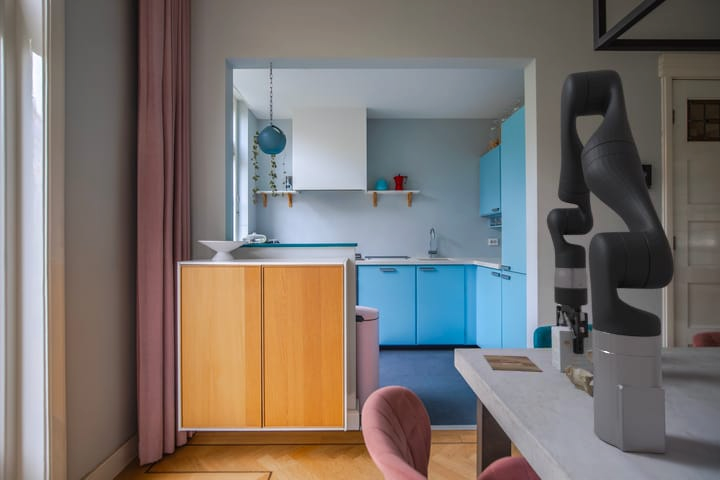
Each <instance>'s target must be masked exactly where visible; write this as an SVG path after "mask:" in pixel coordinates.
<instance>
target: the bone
mask: <svg viewBox="0 0 720 480" xmlns="http://www.w3.org/2000/svg"><path fill="white" fill-rule="evenodd" d="M586 357H587V360H588V361H589V362H590V363H591V364H593V350H589V351H588V352H587V353H586ZM564 373H565V375H566V377H567V378H568V380H569V381H570V383H571V384H573V385H574V386H573V388H574V389H577V390H580V391H584V392H585V393H587V395H589V396H591V395H592V394H593V384H591V383H592V382H593V373H589V372H588V371H586V370H584V369H581V368H579V369H575V368H574V367H573V366H572V365H570V366H568V367H567V368H566V369H565V372H564Z"/></svg>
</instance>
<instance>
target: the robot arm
mask: <svg viewBox="0 0 720 480" xmlns="http://www.w3.org/2000/svg"><path fill="white" fill-rule="evenodd" d="M589 116H591V117H592V116H602V117H603V120H602V122H601V123H600V125H599V126H598V127H597V128H596V130H595V131H594V132H593V133H592V135H591V136H590V137H589V138H588V140H587V142H586V143H585V145H583V142H582V141H581V139H580V136H579V134H578V129H577V119H578V117H589ZM628 118H629V117H628V113H627V106H626V100H625V91H624V85H623V81H622V77H621V76H620V74H619V73H618V71H616V70H612V69H601V70H598V69H597V70H589V71H581V72H580V71H579V72H573V73H572V72H571V73H570V74H568V75H567V76H566V77H565V79H564V82H563V85H562V88H561V94H560V156H561V157H560V172H559V179H558V180H559V181H558V189H557V197H558V199H559V201H561V202H563V203H566V204H570V205H576V206H577V207H560V208H559V207H557V208H556V207H555V208H553V209H551V210H550V211H549V213H548V214H547V217H546V225H547V229H548V231H549V234H550V237H551V240H552V244H553V249H554V250H553V251H554V268H555V269H554V276H553V277H554V278H553V280H554V281H553V284H554V285H553V287H554V288H553V289H554V291H553V292H554V297H553V298H554V299H553V300H554V303H555V304H557V305H556V306H555V307H556V308H555V310H556V311H555V314H556V317H555V319H556V322H555V324H556V326H561V327H568V328H569V330H571V332H572V336H573V353H575V354H583V353H584V339H585V338H588V330H589V313H588V312H583V311H582V312H581V306H582V307H583V306H587V305H588V303H589V299H588V298H589V296H588V293H589V292H588V288H589V287H588V274H587V258H586V257H587V253H586V252H587V251H586V248H585V247H584V246H583V245H580V244H576V243H570V242H568V241H567V240H566V239H565V236H583V235H584V236H585V235H587V234H590V232H591V231H592V229H593V228H594V217H593V212H592V205H591V193H592V194H593V195H594V196H595V197H596V198H597V199H599V200H600V202H602V203H604V204H605V205H606V206H607V207H608V208H610V209H611V210H612V211H613V212H614V213H615V214H617V215H618V216H619V217H620V218H621V219H622V221H623V222H624V224H625V225H626V227H627V229H628V230H629V231H606V232H605V231H604V232H598V233H595V234H594V235H593V236H592V238H591V240H590V241H589V246H588V268H589V269H588V270H589V278H590V294H591V295H590V297H591V300H590V301H591V316H592V318H591V319H592V320H591V321H592V323H591V325H592V330H591V331H592V336H593V373H592V374H593V380H592V382H593V383H592V385H593V396H592V397H593V428H594V429H593V430H594V434H595V436H596V437H598V438H599V439H600V440H602V441H603V442H606V443H607V444H610V445H612V446H615V447H617V448H619V449H620V450H621V451H623V452H636V453H637V452H638V453H639V452H640V453H657V454H667V437H666V436H667V435H666V431H667V430H666V398H665V397H666V394H665V393H666V392H665V389H664V388H663V373H662V369H663V368H662V365H663V364H662V361H663V360H662V322H661V319H660V317H659V316H658V315H657V314H655V313H653V312H651V311H647V310H644V309H640V308H638V307H635V306H633V305H631V304H628V303H627V302H625V301H624V300H622V299H621V298H620V296H619V294H618V293H619V292H618V289H626V290H627V289H633V290H634V289H635V290H657V289H663V288H666V287H667V286H669V284H670V283H671V282H672V280H673V276H674V272H675V264H674V263H675V262H674V257H673V256H674V255H673V252H672V248H671V244H670V242H669V240H668V237H667V235H666V234H667V233H666V232H665V231H666V230H664V226H663V225H662V222H661V220H660V217H659V215H658V212H657V210H656V209H655V206H654V203H653V200H652V198H651V194H650V193H649V189H648V186H647V182H646V178H645V173H644V169H643V164H642V161H641V157H640V154H639V149H638V146H637V144H636V142H635V139H634V136H633V134H632V128H631V125H630V122H629V119H628ZM558 304H560V305H558ZM583 329H584V330H583ZM575 330H576V332H575Z"/></svg>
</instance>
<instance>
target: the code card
mask: <svg viewBox="0 0 720 480" xmlns="http://www.w3.org/2000/svg"><path fill="white" fill-rule="evenodd" d="M482 356H483V358H484V359H485V360H486V362H487V363H488V365H489V366H490V367H491V369H492V370H493V371H513V372H514V371H515V372H538V373H539V372H541V373H542V372H543V370H542V369H541V368H540V367H539V366H538V365H537V364H535V363H534V361H533V360H531V359H530V358H529V357H528V356H527V355H525V356H524V355H522V356H521V355H499V354H498V355H496V354H495V355H494V354H493V355H492V354H482Z"/></svg>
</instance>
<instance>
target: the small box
mask: <svg viewBox="0 0 720 480" xmlns="http://www.w3.org/2000/svg"><path fill="white" fill-rule="evenodd" d="M583 330H584V329H583ZM575 332H576V330H575ZM589 350H593V333H592V330H590V329H588V338H585V339H584V353H583V354H575V353H573V336H572V332H571V330H569V328H568V327H561V326H551V363H552V364H551V365H552V367H553V368H555V369H556V370H557V371H558V372H560V373H565V369H566V368H567V367H568V366H570V365H572V366H573V367H574V368H575V369H579V368H581V369H584V370H586V371H588V372H589V373H591V374H593V364H591V363H590V362H589V361H588V360H587V357H586V353H587V352H588V351H589Z"/></svg>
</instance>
